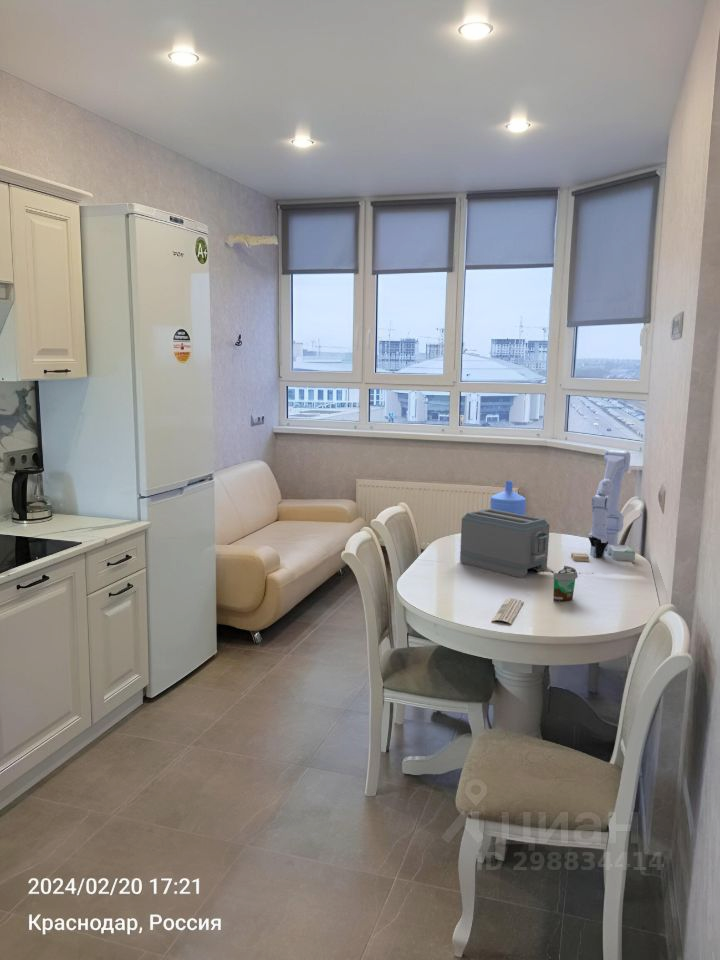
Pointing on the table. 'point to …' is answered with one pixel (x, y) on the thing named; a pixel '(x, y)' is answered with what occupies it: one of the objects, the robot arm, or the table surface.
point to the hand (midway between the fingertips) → (597, 555)
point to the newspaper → (508, 610)
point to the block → (594, 551)
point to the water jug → (508, 501)
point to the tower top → (579, 556)
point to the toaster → (504, 541)
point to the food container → (564, 584)
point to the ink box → (621, 552)
